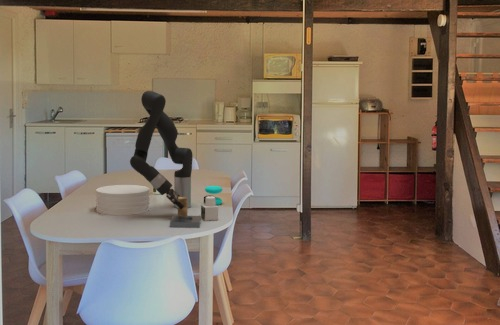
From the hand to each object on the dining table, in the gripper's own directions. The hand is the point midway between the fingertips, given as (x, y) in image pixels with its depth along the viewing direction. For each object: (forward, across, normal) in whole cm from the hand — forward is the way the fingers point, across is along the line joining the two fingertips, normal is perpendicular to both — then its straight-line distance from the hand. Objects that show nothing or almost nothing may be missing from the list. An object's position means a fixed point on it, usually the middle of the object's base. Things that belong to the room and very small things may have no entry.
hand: (183, 206), depth 288 cm
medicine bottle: (+14, -5, -6) cm, 15 cm away
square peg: (+4, 0, +4) cm, 6 cm away
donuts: (+14, +35, -6) cm, 38 cm away
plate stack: (-20, +16, +28) cm, 38 cm away
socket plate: (+6, -16, +2) cm, 17 cm away
